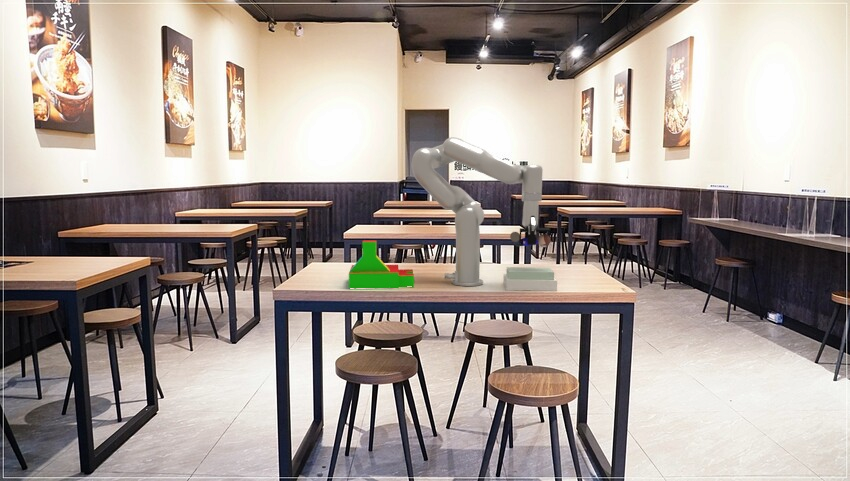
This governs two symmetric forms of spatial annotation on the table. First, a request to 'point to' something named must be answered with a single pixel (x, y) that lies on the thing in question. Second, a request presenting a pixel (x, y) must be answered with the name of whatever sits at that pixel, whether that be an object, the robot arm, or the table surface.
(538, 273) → the pale green stepped box
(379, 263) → the building blocks toy
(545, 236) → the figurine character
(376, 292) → the table surface
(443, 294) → the table surface
